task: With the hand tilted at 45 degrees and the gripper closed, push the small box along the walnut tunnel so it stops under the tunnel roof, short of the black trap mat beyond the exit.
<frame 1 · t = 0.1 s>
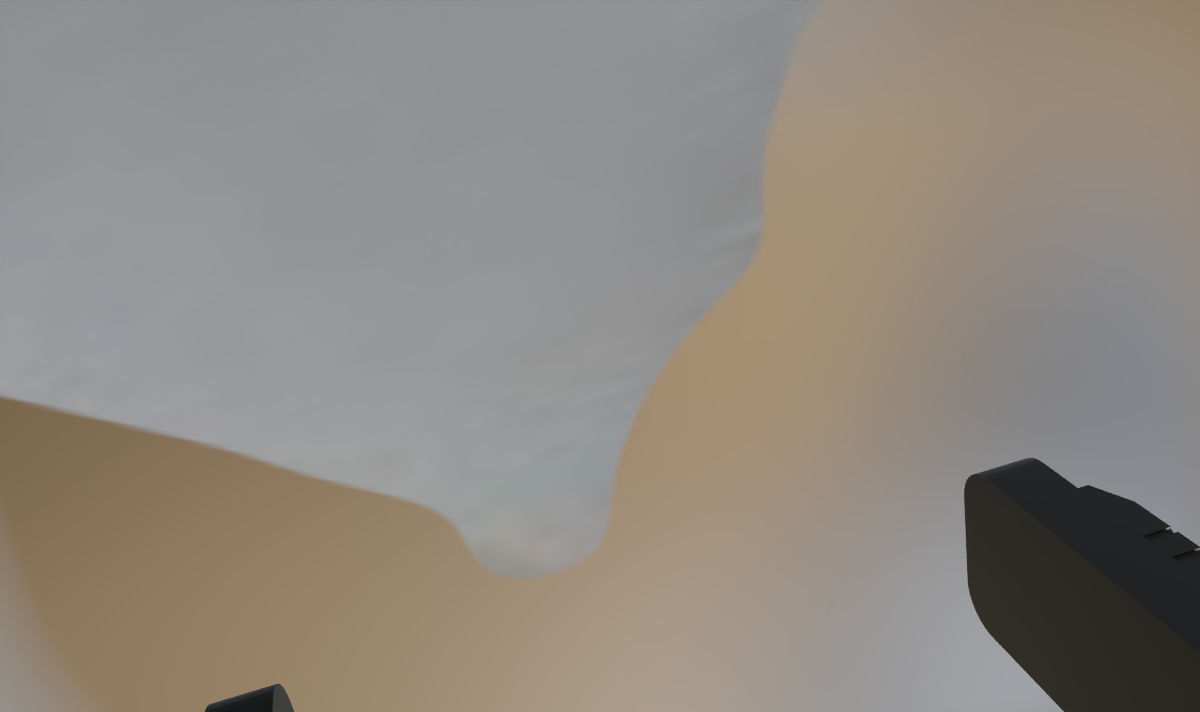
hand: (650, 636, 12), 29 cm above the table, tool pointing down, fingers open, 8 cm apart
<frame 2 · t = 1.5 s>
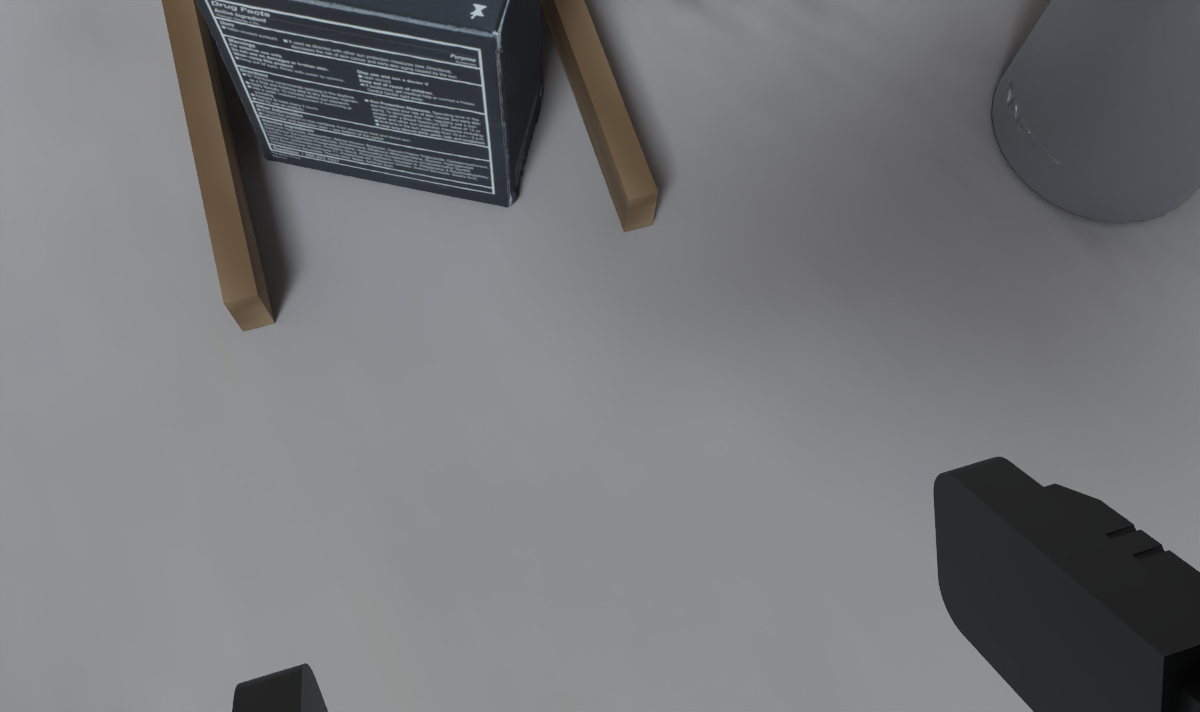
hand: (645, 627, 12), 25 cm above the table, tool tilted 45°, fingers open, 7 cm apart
small box: (408, 124, 44), on the table
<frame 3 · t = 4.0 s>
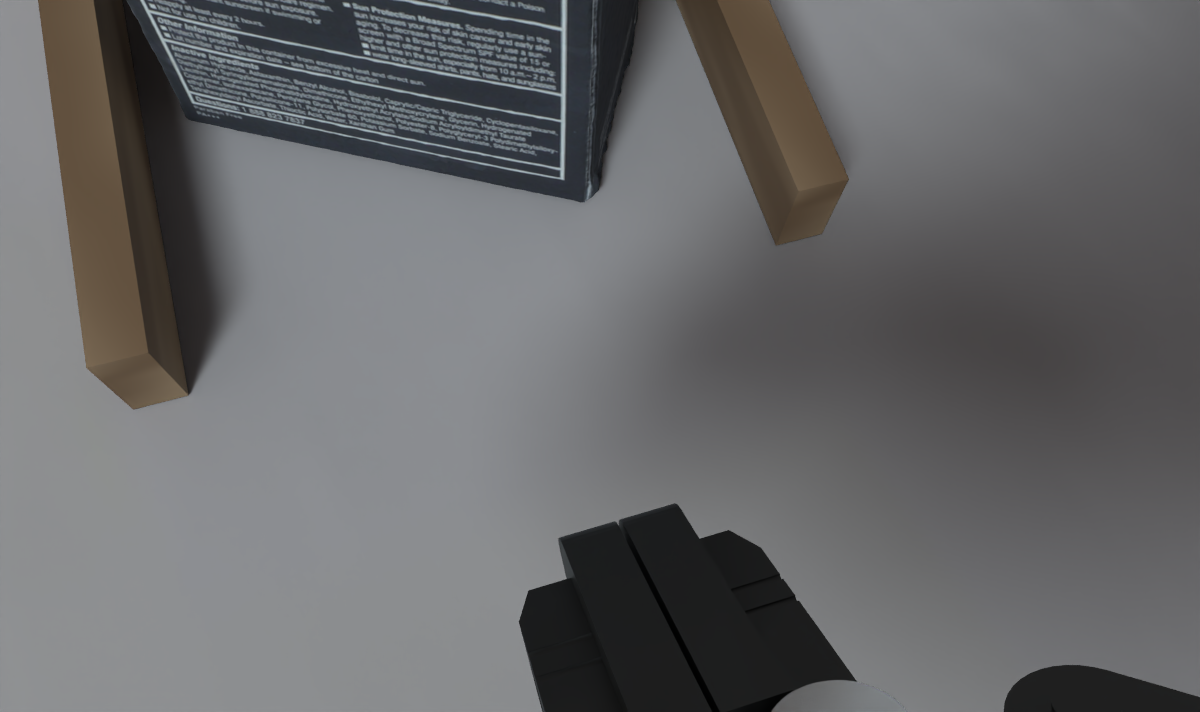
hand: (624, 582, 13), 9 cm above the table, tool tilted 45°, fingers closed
small box: (421, 67, 27), on the table
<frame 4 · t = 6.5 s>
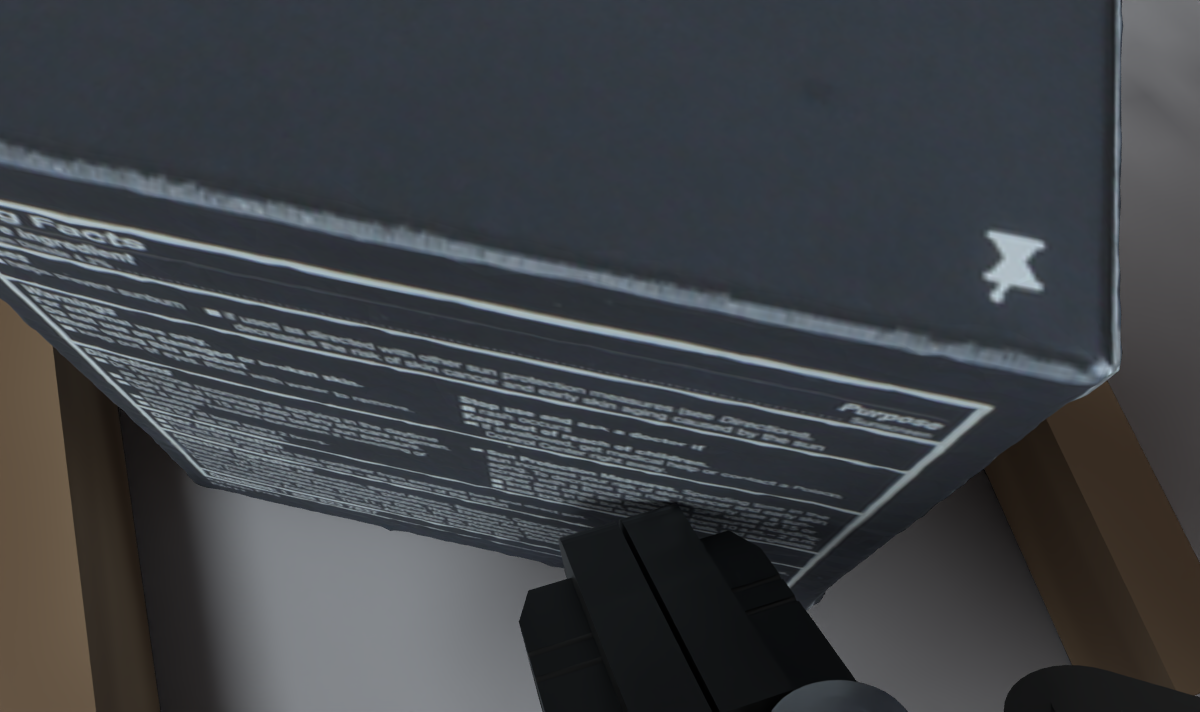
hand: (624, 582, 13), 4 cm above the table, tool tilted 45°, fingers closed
small box: (537, 382, 19), on the table, touching gripper
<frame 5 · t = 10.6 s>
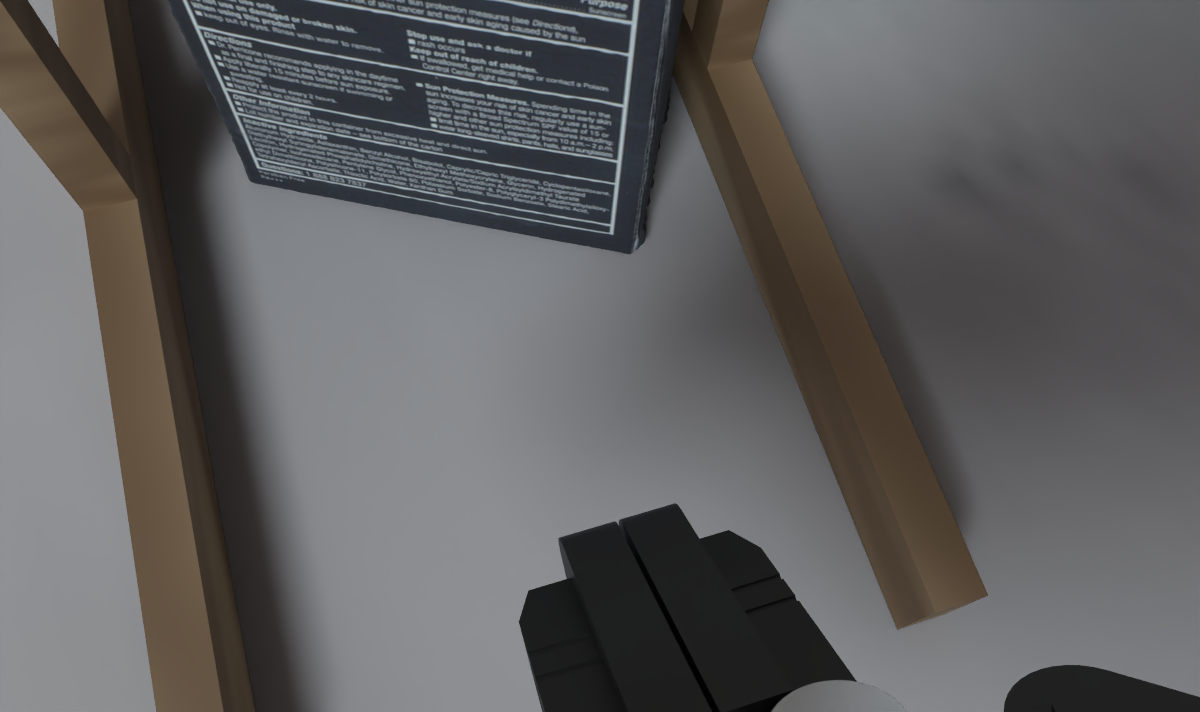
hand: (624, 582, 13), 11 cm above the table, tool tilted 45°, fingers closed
small box: (469, 126, 29), on the table
walnut tunnel: (400, 37, 29), on the table
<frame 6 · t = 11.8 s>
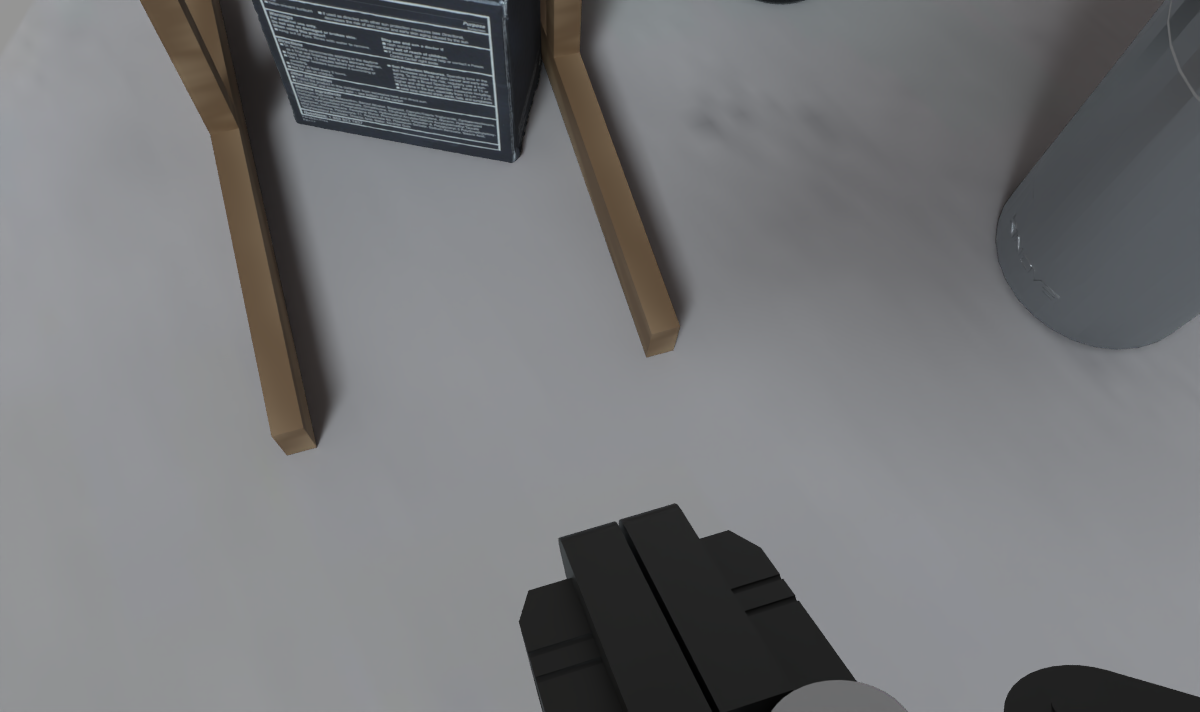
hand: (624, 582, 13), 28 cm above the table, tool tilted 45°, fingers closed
small box: (422, 91, 49), on the table
walnut tunnel: (382, 40, 50), on the table
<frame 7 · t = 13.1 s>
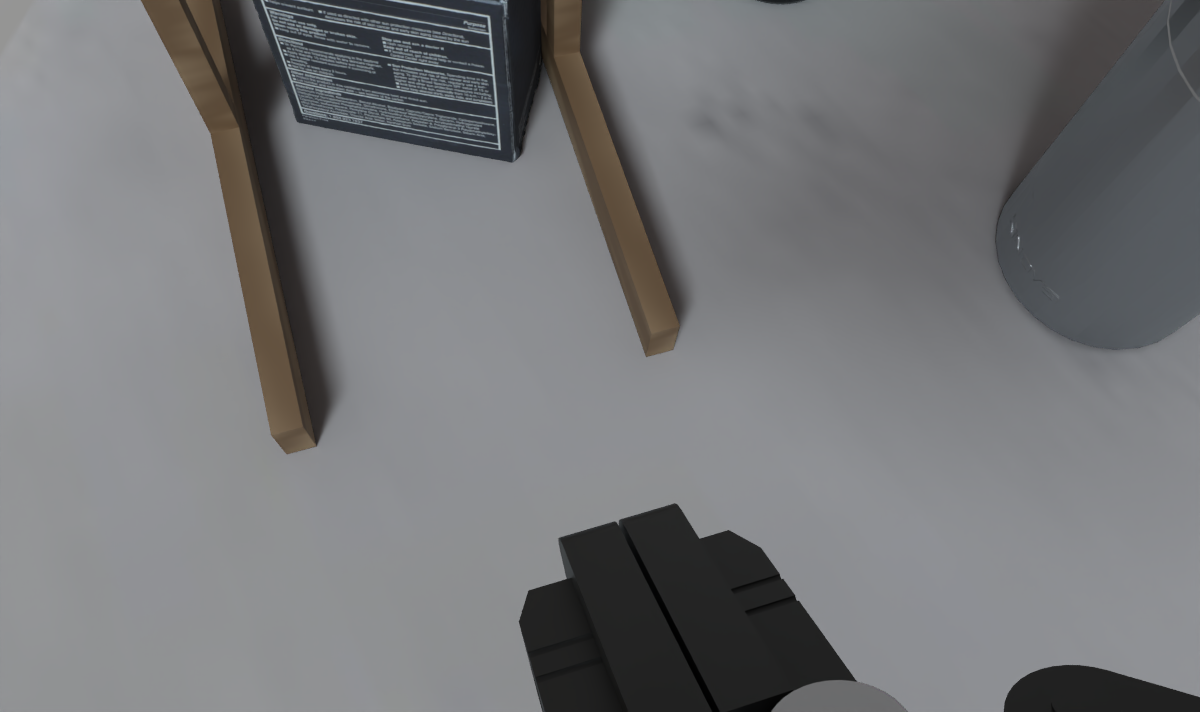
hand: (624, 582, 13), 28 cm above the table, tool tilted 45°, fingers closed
small box: (423, 91, 49), on the table
walnut tunnel: (383, 39, 50), on the table
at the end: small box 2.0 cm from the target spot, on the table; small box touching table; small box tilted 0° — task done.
